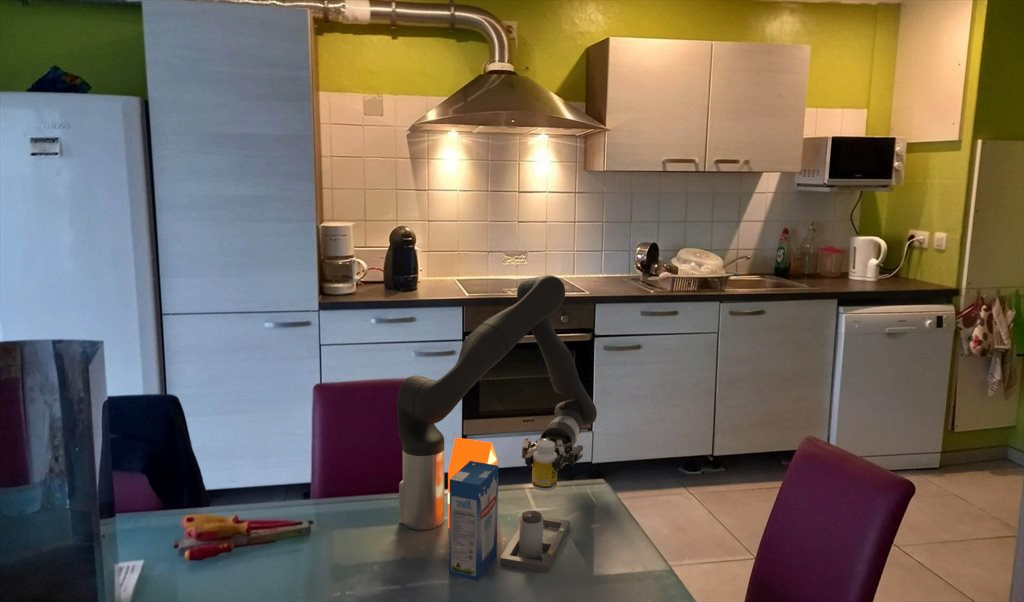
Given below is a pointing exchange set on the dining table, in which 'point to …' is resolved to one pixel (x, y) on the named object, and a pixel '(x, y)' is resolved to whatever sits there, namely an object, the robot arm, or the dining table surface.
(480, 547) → the milk carton
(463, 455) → the orange juice
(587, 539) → the dining table surface
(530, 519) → the seated grey plug
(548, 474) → the supplement bottle
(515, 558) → the two-slot grey tray
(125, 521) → the dining table surface
